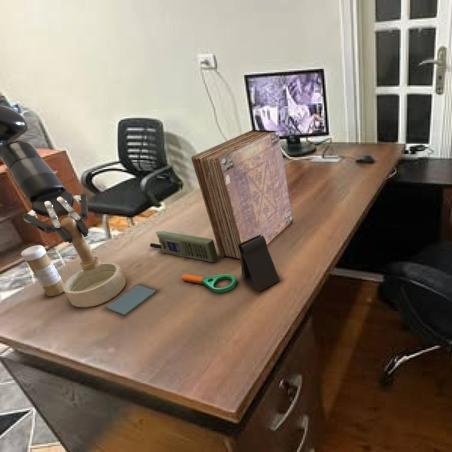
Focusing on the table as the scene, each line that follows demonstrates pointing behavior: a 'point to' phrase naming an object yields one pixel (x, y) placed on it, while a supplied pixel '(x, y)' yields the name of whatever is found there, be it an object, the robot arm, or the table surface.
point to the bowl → (94, 285)
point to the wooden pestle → (80, 245)
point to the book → (244, 189)
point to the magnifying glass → (214, 279)
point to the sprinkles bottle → (43, 269)
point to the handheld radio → (186, 246)
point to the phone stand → (257, 263)
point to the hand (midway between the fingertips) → (78, 238)
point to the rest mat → (131, 300)
